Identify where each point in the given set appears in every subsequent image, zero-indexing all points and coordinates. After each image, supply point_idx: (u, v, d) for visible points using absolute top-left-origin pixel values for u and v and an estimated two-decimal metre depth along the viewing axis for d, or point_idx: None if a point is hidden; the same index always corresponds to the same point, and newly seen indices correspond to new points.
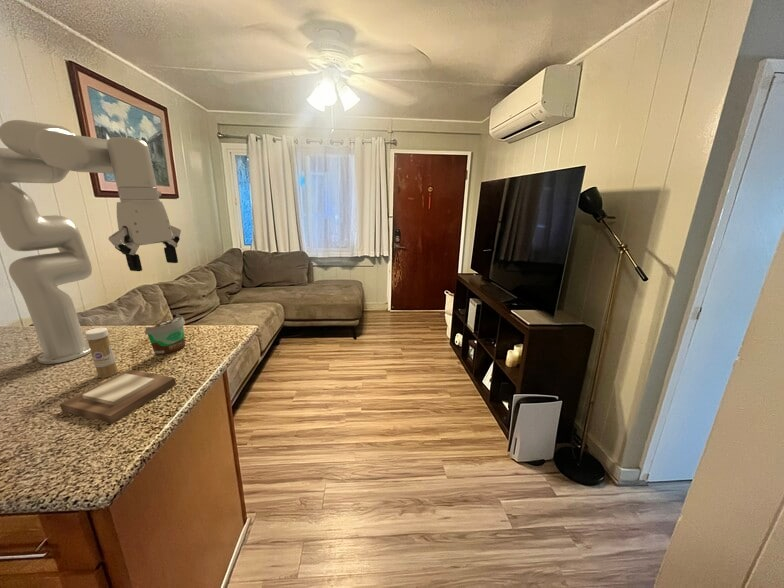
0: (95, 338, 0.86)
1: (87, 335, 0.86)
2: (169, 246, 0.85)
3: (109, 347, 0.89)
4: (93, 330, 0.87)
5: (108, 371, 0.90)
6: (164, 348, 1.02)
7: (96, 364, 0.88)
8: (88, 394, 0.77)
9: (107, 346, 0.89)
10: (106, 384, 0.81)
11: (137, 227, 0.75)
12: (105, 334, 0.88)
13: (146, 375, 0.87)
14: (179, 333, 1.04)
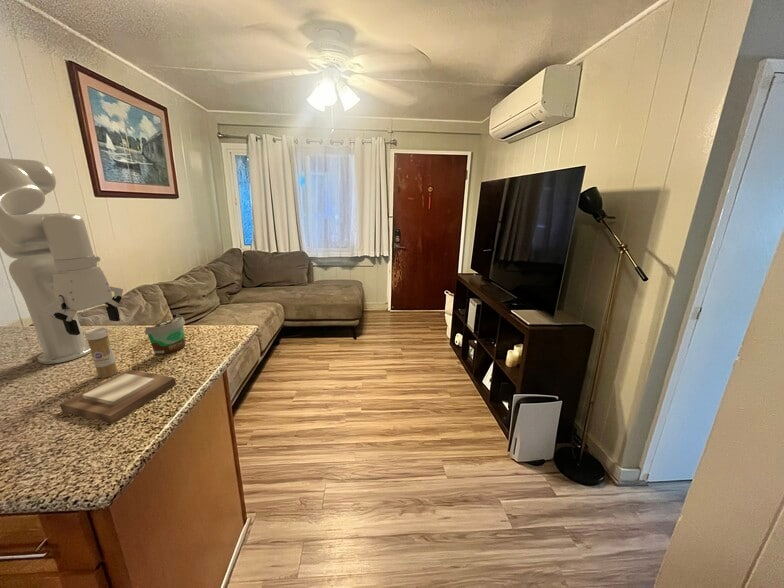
0: (95, 338, 0.86)
1: (87, 335, 0.86)
2: (110, 306, 0.90)
3: (109, 347, 0.89)
4: (93, 330, 0.87)
5: (108, 371, 0.90)
6: (164, 348, 1.02)
7: (96, 364, 0.88)
8: (88, 394, 0.77)
9: (107, 346, 0.89)
10: (106, 384, 0.81)
11: (73, 295, 0.80)
12: (105, 334, 0.88)
13: (146, 375, 0.87)
14: (179, 333, 1.04)
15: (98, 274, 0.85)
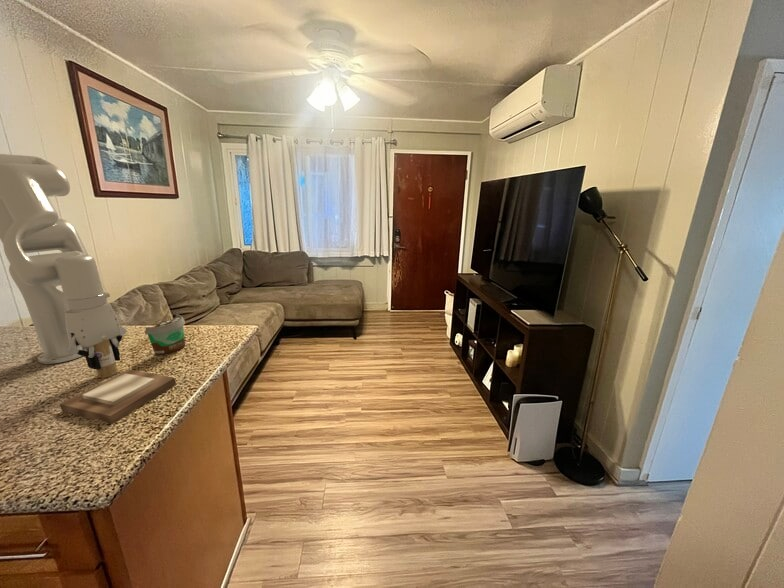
0: None
1: None
2: (111, 345, 0.91)
3: (109, 347, 0.89)
4: None
5: (108, 371, 0.90)
6: (164, 348, 1.02)
7: None
8: (88, 394, 0.77)
9: (107, 346, 0.89)
10: (106, 384, 0.81)
11: (84, 333, 0.83)
12: None
13: (146, 375, 0.87)
14: (179, 333, 1.04)
15: (108, 310, 0.88)
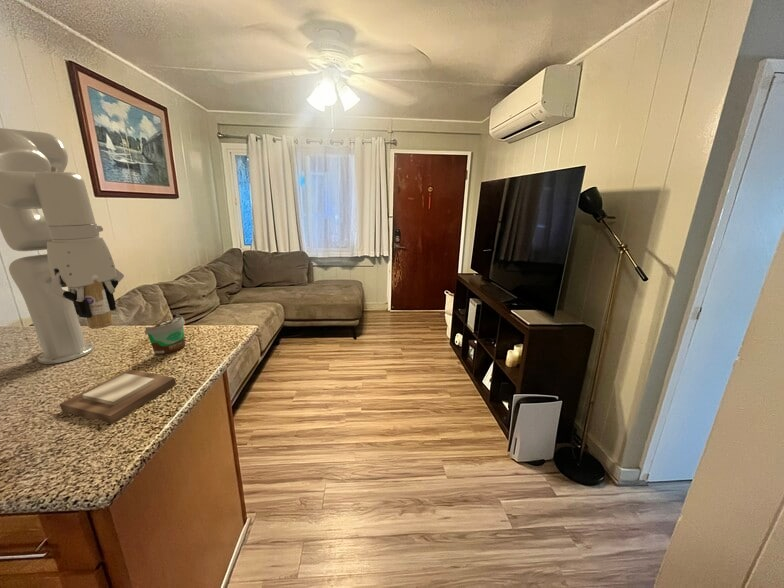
0: None
1: None
2: None
3: (102, 292, 0.74)
4: None
5: (101, 320, 0.74)
6: (164, 348, 1.02)
7: None
8: (88, 394, 0.77)
9: (100, 290, 0.73)
10: (106, 384, 0.81)
11: (71, 269, 0.67)
12: None
13: (146, 375, 0.87)
14: (179, 333, 1.04)
15: (100, 246, 0.72)
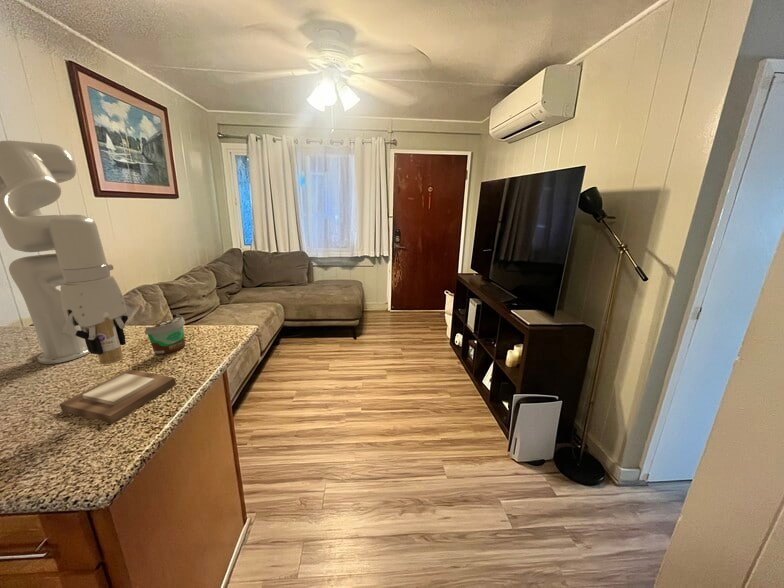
0: None
1: None
2: (115, 326, 0.78)
3: (113, 328, 0.76)
4: None
5: (112, 356, 0.76)
6: (164, 348, 1.02)
7: None
8: (88, 394, 0.77)
9: (111, 327, 0.75)
10: (106, 384, 0.81)
11: (84, 310, 0.70)
12: None
13: (146, 375, 0.87)
14: (179, 333, 1.04)
15: (111, 285, 0.75)
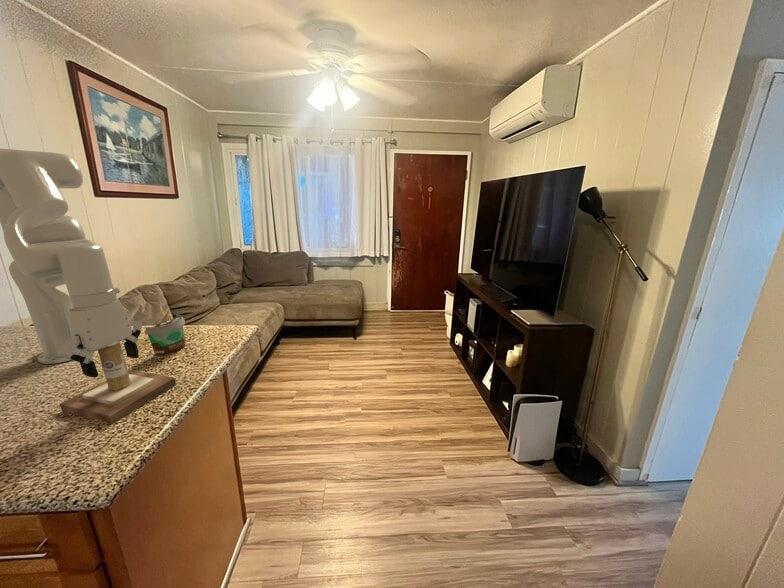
0: None
1: None
2: (129, 342, 0.81)
3: (121, 355, 0.78)
4: None
5: (120, 382, 0.79)
6: (164, 348, 1.02)
7: (106, 375, 0.77)
8: (88, 394, 0.77)
9: (119, 354, 0.78)
10: (106, 384, 0.81)
11: (91, 335, 0.72)
12: None
13: (146, 375, 0.87)
14: (179, 333, 1.04)
15: (118, 308, 0.76)
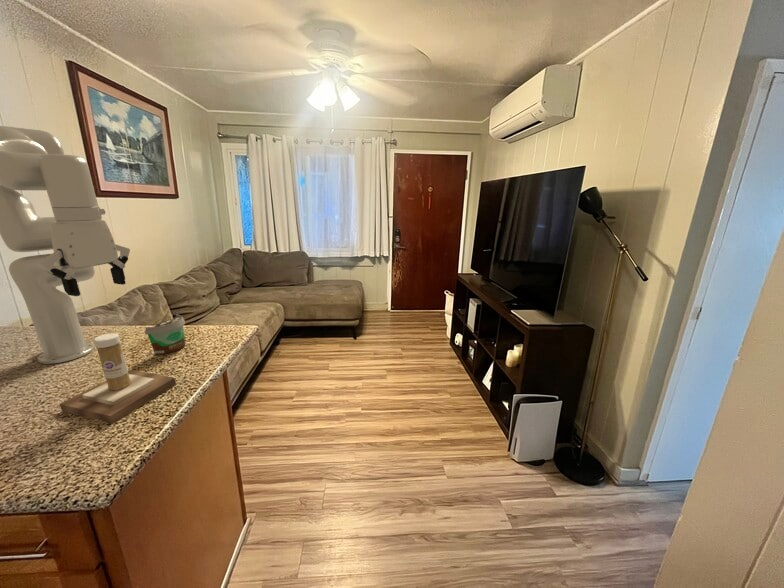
0: (105, 346, 0.75)
1: (96, 342, 0.75)
2: (115, 267, 0.80)
3: (121, 355, 0.78)
4: (103, 336, 0.76)
5: (120, 382, 0.79)
6: (164, 348, 1.02)
7: (106, 375, 0.77)
8: (88, 394, 0.77)
9: (119, 354, 0.78)
10: (106, 384, 0.81)
11: (74, 250, 0.70)
12: (117, 341, 0.77)
13: (146, 375, 0.87)
14: (179, 333, 1.04)
15: (103, 228, 0.74)
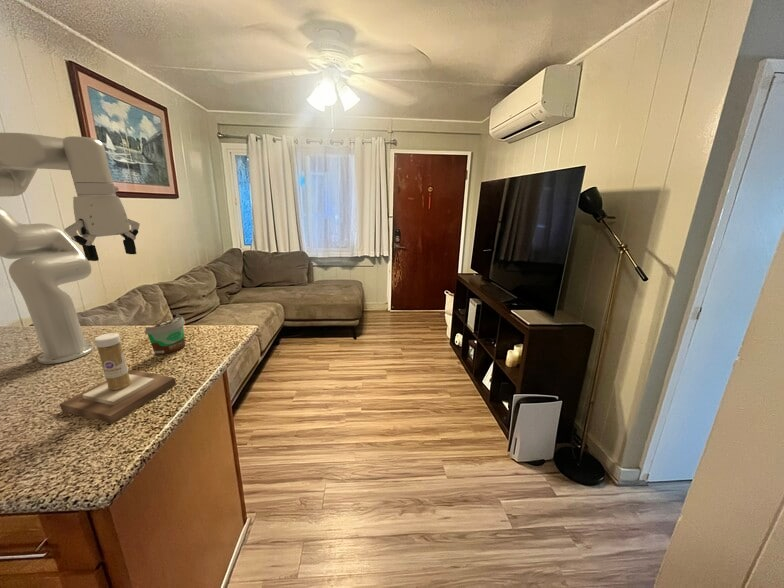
0: (106, 345, 0.75)
1: (97, 342, 0.75)
2: (127, 238, 0.90)
3: (121, 355, 0.78)
4: (104, 336, 0.77)
5: (120, 382, 0.79)
6: (164, 348, 1.02)
7: (106, 375, 0.77)
8: (88, 394, 0.77)
9: (119, 354, 0.78)
10: (106, 384, 0.81)
11: (93, 220, 0.81)
12: (117, 340, 0.77)
13: (146, 375, 0.87)
14: (179, 333, 1.04)
15: (117, 203, 0.85)
